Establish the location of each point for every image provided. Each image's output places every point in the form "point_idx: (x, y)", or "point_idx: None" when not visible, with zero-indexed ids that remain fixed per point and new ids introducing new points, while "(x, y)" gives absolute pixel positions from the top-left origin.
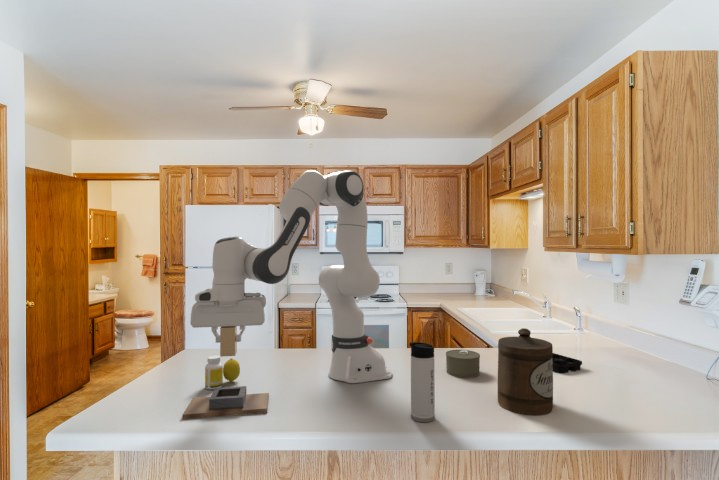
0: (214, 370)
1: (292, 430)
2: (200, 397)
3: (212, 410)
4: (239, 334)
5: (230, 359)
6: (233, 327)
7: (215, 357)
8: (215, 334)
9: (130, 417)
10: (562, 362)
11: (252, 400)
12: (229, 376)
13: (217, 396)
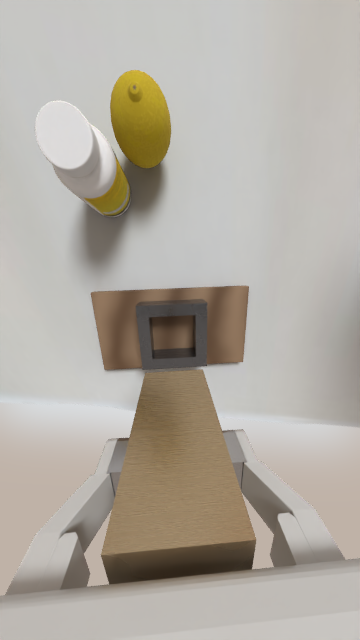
0: (98, 198)
1: (271, 412)
2: (106, 292)
3: None
4: (250, 499)
5: (131, 97)
6: None
7: (73, 144)
8: (95, 523)
9: (10, 348)
10: None
11: (216, 324)
12: (143, 167)
13: (151, 338)
